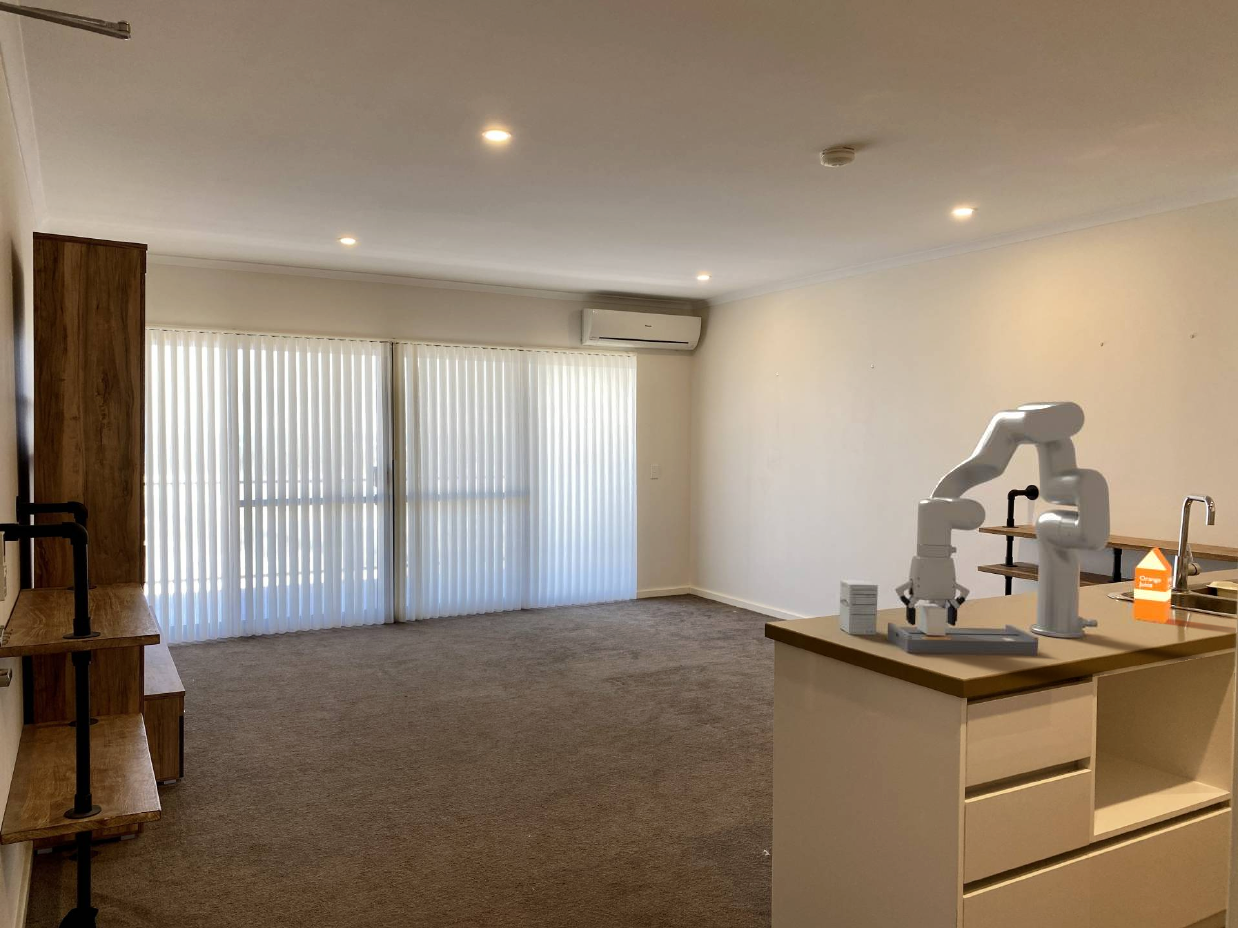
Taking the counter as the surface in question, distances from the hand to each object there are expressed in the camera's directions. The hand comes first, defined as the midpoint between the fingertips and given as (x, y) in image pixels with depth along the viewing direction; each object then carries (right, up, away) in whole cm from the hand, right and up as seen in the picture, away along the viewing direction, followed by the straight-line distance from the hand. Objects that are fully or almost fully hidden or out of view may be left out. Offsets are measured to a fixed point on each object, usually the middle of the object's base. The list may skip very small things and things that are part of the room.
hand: (931, 624), depth 207 cm
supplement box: (-13, -5, +15) cm, 21 cm away
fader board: (+7, -5, 0) cm, 9 cm away
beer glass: (+8, -5, +17) cm, 20 cm away
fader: (0, -3, 0) cm, 3 cm away
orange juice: (+76, -6, +40) cm, 86 cm away
